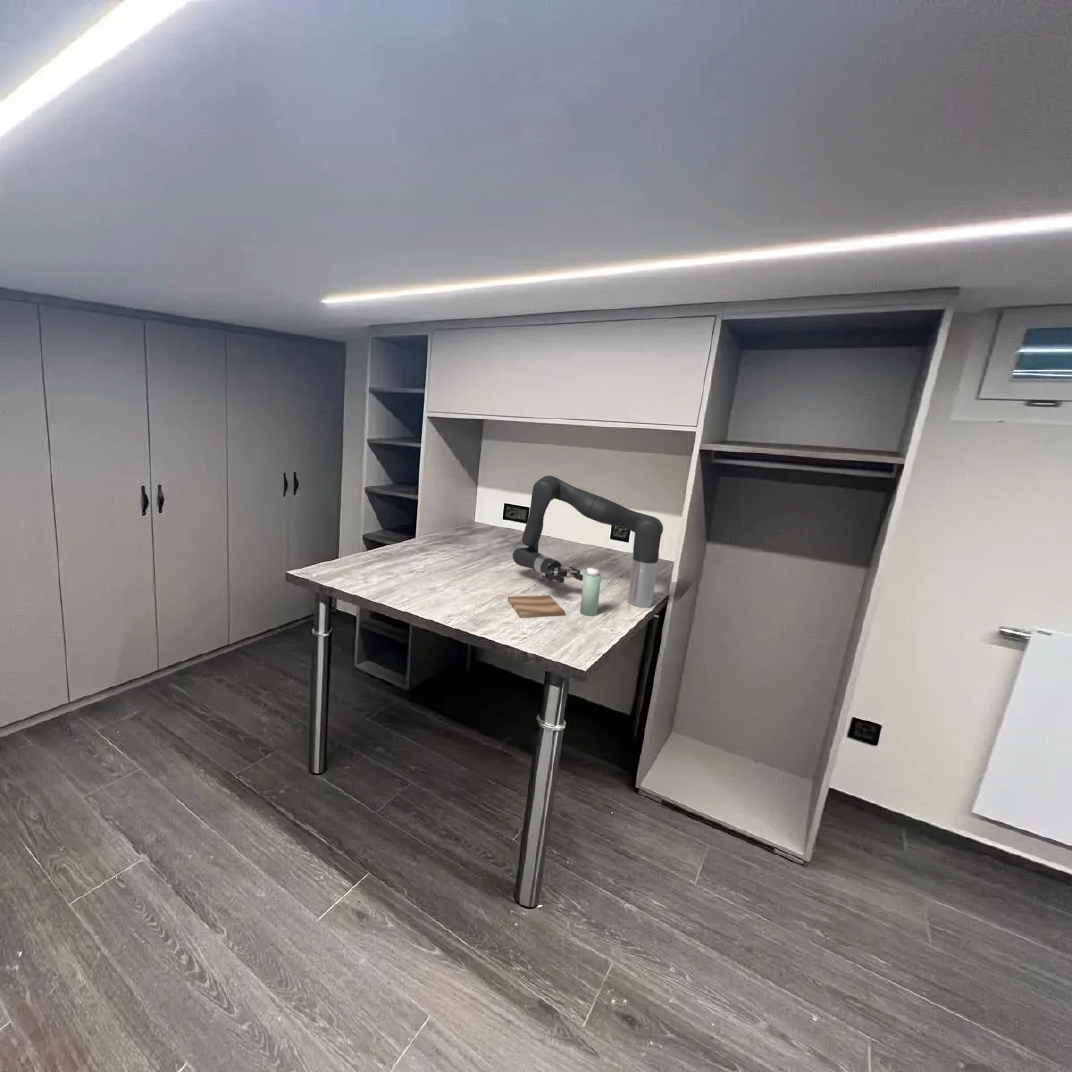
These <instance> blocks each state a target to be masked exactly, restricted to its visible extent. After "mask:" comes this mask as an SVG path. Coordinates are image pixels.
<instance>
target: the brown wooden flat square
mask: <svg viewBox="0 0 1072 1072" xmlns="http://www.w3.org/2000/svg"><path fill="white" fill-rule="evenodd" d="M507 602H508V603H509V605H510V606H511V607H512V609H513V610H514V611H515V613H516V614H517V616H518V618H519V619H525V618H541V617H542V618H543V617H559V616H560V617H562V616H563V617H564V616H566V611H565V610H564V608H562V606H560V604H559V603H558V602H556V600H555V599H554V598H553V597H552V596H551V595H549V594H546V595H540V594H539V595H519V596H518V595H517V596H515V595H513V596H507Z"/></svg>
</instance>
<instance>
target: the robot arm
mask: <svg viewBox="0 0 1072 1072" xmlns="http://www.w3.org/2000/svg"><path fill="white" fill-rule="evenodd" d="M531 491H532V492H531V499H530V506H529V507H530V508H529V513H528V516H527V519H526V520H527V522H526V525H525V528H524V531H523V533H522V534H523V535H522V536H521V537H522V538H521V541H522V544H523V545H524V546H526V547H518V548H515V549H514V551H513V552H512V560H513V562H514V563H515V564H516V565H517V566H520V567H524V568H527V569H528V568H529V569H532V570H533V571H535V572H537V573H538V574H540V575H541V577H542V578H543V579H546V580H547V581H549V582H552V581H553V582H558V583H560V584H564V583H565V579H571V578H573V579H576V580H577V581H578V580H579V581H580V582H581V581H582V582H583V578H584V574H581V570H580V569H578V568H576V567H573V566H569V567H565V566H563V565H562V562H560V561H558V560H556V559H554V558H552V557H550V556H548V555H544V554H542V553H541V552H539V544H540V543H539V542H540V539H541V536H542V533H543V529H544V521H545V520H544V519H545V518H544V517H545V514H546V511H547V509H548V507H549V505H550V503H551V501H553V500H554V499H555V500H558V501H561V502H564V503H567V504H568V505H570V506H571V507H572V508H574V509H575V510H576V511H577V512H579V514H581V515H582V516H584V517H586V518H587V519H590V520H592V521H595V522H597V523H600V524H603V525H604V524H605V525H609V526H615V527H619V528H623V529H626V530H628V531H630V532H632V533H634V539H633V546H632V547H633V548H632V553H633V554H632V555H633V556H632V563H631V570H630V579H629V584H628V585H629V586H628V591H627V592H628V594H627V603H628V605H631V606H633V607H637V608H642V609H643V608H651V607H652V606H653V600H654V591H655V586H656V585H655V584H656V580H657V579H656V578H657V571H658V565H659V564H658V563H659V557H660V555H659V554H660V546H661V545H660V544H661V538H662V535H663V532H664V525H663V523H662V521H661V520H660V519H659V518H657V517H655V516H652V515H648V514H646V513H641V512H639V511H636V510H635V511H634V510H631V509H629V508H627V507H624V506H623V505H621V504H619V503H617V502H615V501H611V500H610V499H607V498H605V497H602V496H600V495H597V494H594V493H592V492H589V491H586V490H583V489H581V488H578V487H575V486H574V485H571V484H569V483H567V482H566V481H563V480H562V479H560V478H558V477H556V476H553V475H545V476H543V477H541V478H539V479H538V480H537V481H536V482H534V484H533V487H532V490H531Z"/></svg>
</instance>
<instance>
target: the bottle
mask: <svg viewBox="0 0 1072 1072" xmlns="http://www.w3.org/2000/svg"><path fill="white" fill-rule="evenodd" d="M601 581H602V575H601V573H600V569H599V568H596V567H587V570H586V572H584V573H583V580H582V590H581V591H582V592H581V596H580V598H581V599H580V609H579V613H580V614H581V615H583V616H586V617H596V616H597V615H598V609H599V608H598V607H599V599H600V593H601V592H600V590H601Z"/></svg>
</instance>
